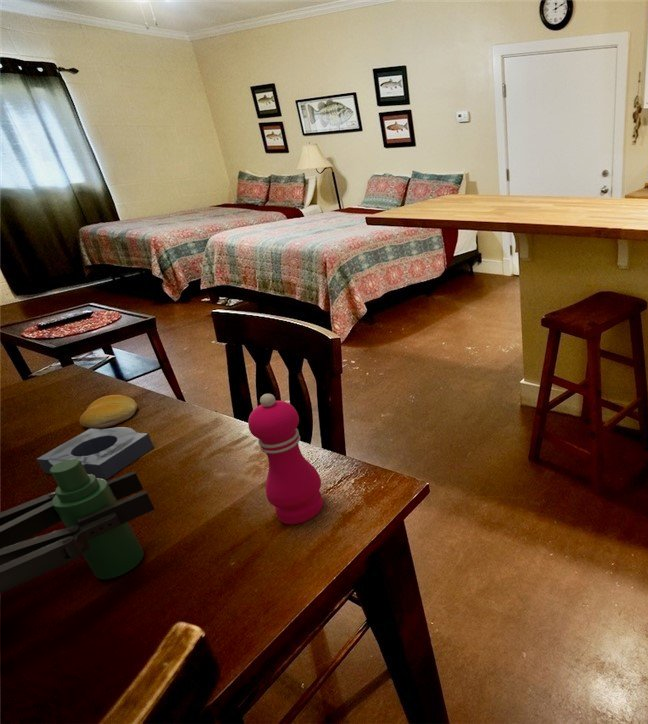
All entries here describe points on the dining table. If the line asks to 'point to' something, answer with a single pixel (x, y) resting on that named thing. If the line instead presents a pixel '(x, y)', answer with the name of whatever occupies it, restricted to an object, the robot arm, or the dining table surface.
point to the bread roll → (108, 411)
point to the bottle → (84, 497)
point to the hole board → (100, 451)
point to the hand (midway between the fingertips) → (143, 490)
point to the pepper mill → (285, 462)
